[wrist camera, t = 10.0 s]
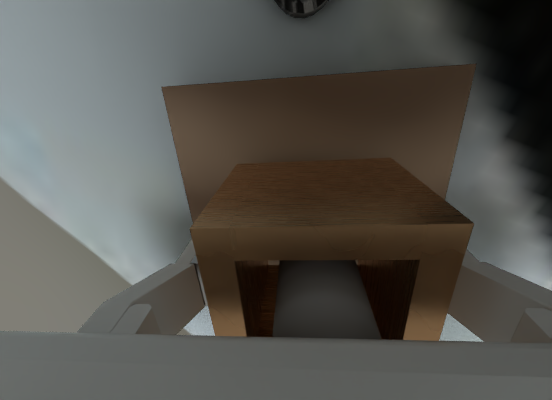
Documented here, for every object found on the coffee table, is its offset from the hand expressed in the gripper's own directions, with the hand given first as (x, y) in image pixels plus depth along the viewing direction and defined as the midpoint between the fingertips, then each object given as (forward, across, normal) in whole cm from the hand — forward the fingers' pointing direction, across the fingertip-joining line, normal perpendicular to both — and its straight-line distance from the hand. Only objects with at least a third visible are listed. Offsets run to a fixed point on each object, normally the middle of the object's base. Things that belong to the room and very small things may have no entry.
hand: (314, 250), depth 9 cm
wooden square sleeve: (+2, 0, 0) cm, 2 cm away
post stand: (+5, 0, 0) cm, 5 cm away
